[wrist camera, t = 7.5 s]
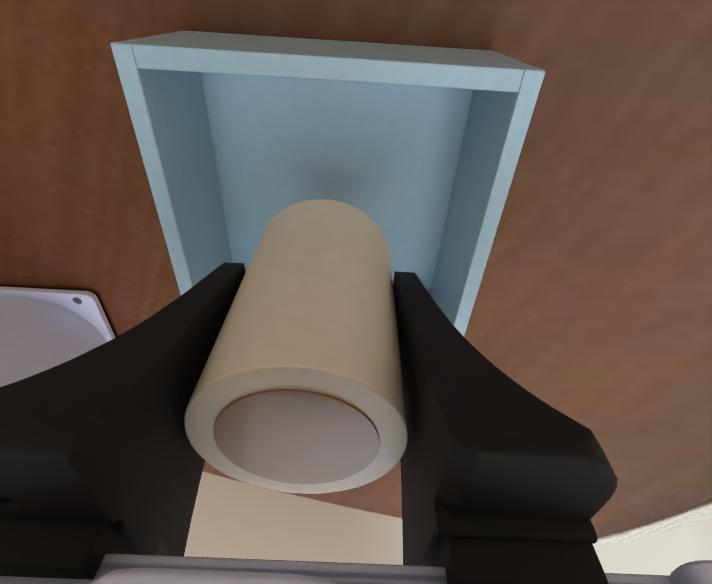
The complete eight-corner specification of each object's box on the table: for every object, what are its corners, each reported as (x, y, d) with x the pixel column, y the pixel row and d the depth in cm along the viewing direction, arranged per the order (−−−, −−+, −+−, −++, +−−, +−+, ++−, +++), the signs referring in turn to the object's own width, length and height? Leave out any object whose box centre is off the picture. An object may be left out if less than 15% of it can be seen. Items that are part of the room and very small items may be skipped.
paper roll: (265, 307, 15) (205, 492, 9) (252, 194, 12) (155, 362, 6) (383, 313, 15) (394, 500, 9) (397, 202, 12) (425, 375, 7)
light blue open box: (228, 283, 22) (196, 352, 18) (183, 30, 15) (108, 42, 11) (437, 294, 23) (455, 365, 18) (493, 50, 15) (546, 70, 11)
